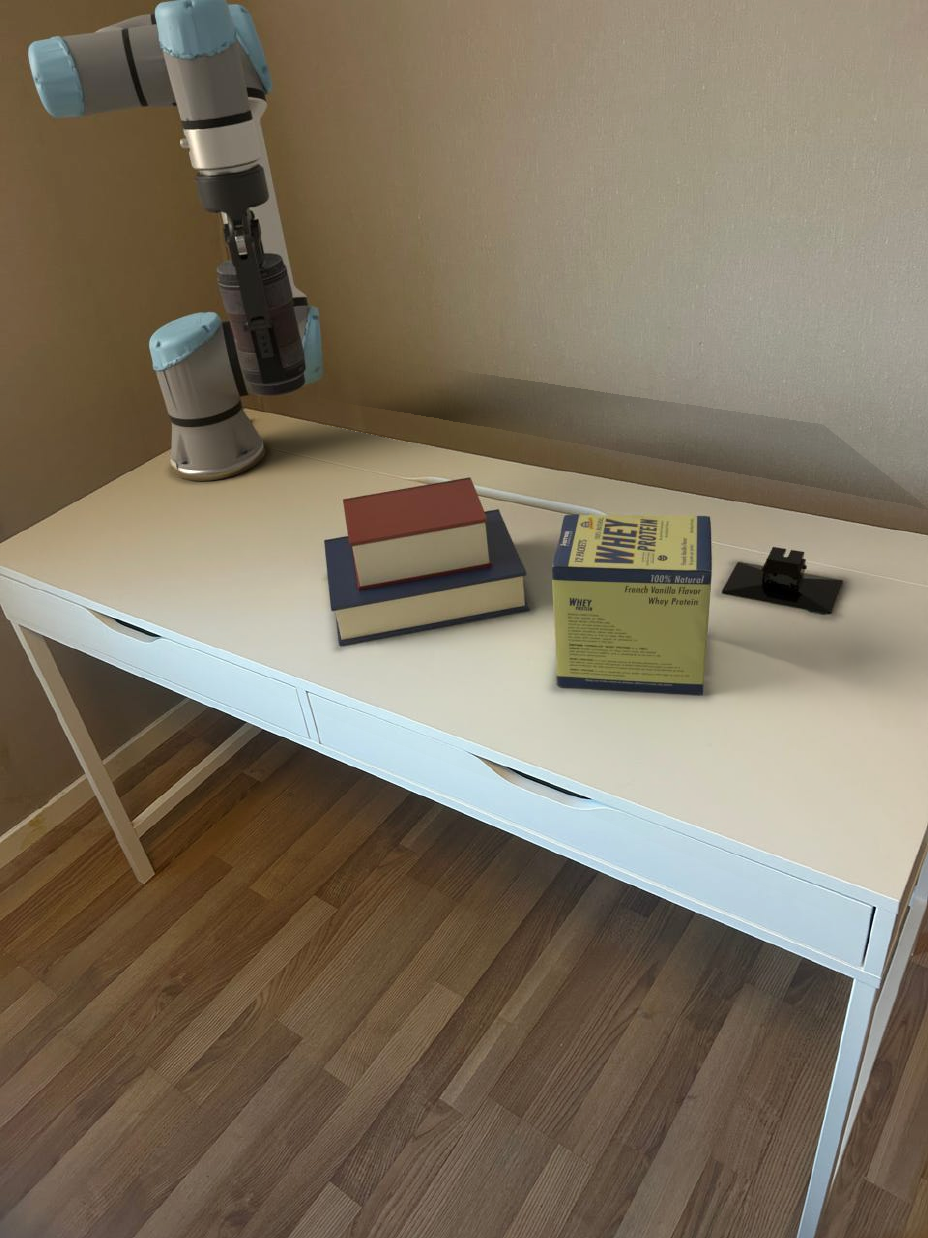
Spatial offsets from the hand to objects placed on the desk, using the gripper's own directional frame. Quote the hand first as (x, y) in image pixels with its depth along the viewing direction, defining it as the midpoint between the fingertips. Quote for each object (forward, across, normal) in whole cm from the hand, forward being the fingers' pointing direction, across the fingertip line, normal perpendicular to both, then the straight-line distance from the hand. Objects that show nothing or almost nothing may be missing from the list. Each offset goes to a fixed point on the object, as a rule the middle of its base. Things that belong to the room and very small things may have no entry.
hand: (274, 368), depth 114 cm
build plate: (+26, +29, +54) cm, 67 cm away
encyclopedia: (+26, +16, +13) cm, 33 cm away
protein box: (+26, +37, +34) cm, 56 cm away
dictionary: (+20, +16, +13) cm, 29 cm away
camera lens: (+2, 0, 0) cm, 2 cm away
